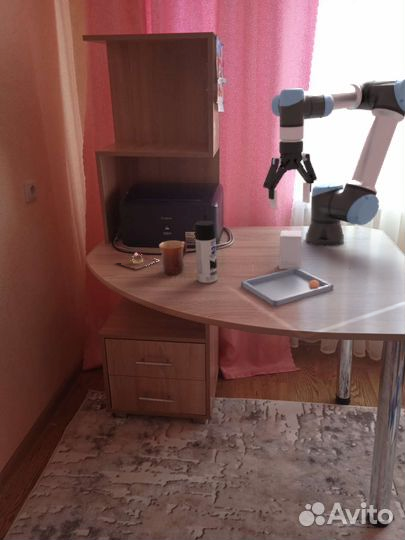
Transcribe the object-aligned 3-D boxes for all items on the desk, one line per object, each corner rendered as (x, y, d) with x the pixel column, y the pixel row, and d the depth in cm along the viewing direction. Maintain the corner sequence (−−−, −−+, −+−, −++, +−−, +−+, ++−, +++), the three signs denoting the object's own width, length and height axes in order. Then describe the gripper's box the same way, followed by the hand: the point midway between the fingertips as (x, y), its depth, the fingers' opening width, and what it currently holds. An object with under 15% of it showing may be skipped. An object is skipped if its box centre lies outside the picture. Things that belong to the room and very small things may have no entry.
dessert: (160, 263, 177) (159, 251, 176) (136, 272, 169) (135, 260, 167) (139, 256, 185) (138, 245, 183) (115, 265, 177) (114, 253, 175)
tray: (296, 273, 160) (296, 267, 160) (332, 291, 146) (333, 284, 145) (241, 288, 151) (241, 281, 150) (274, 308, 136) (274, 301, 135)
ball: (314, 287, 148) (314, 277, 146) (321, 290, 145) (321, 280, 144) (306, 289, 146) (306, 279, 145) (313, 292, 144) (313, 283, 142)
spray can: (213, 284, 155) (211, 226, 147) (194, 282, 157) (191, 224, 150) (219, 277, 160) (218, 220, 153) (201, 275, 163) (198, 219, 155)
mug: (175, 278, 161) (173, 250, 157) (156, 273, 166) (153, 246, 162) (196, 267, 170) (194, 240, 166) (177, 263, 175) (175, 236, 171)
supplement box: (300, 271, 162) (301, 236, 158) (278, 270, 164) (279, 236, 159) (300, 264, 169) (301, 230, 164) (279, 263, 170) (280, 229, 166)
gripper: (313, 135, 158) (311, 197, 166) (252, 143, 148) (252, 209, 156) (329, 137, 152) (326, 201, 160) (265, 145, 142) (266, 213, 150)
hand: (290, 205), depth 158 cm, fingers open, 13 cm apart
